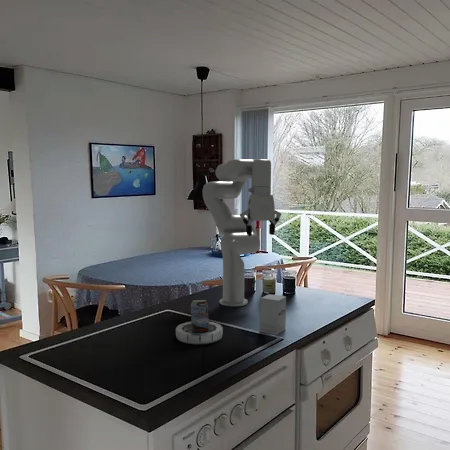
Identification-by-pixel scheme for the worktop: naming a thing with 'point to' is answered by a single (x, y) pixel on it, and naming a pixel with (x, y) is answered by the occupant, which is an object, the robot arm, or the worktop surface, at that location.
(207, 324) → the beverage can
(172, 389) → the worktop surface
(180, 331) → the grey segmented ring
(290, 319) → the worktop surface
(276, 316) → the supplement box
